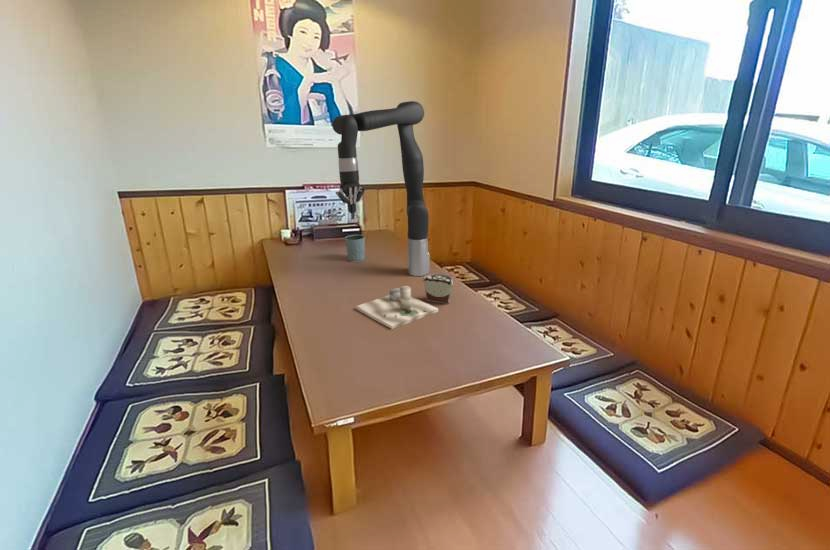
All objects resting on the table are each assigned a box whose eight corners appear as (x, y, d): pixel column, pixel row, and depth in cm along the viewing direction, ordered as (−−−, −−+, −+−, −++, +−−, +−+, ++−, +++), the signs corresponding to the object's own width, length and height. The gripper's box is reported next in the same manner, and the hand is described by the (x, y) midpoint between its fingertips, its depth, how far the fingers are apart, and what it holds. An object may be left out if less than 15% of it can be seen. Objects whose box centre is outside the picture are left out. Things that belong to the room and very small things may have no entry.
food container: (457, 298, 178) (457, 275, 174) (451, 304, 172) (452, 280, 169) (429, 294, 183) (429, 271, 179) (423, 299, 177) (422, 276, 174)
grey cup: (369, 258, 230) (368, 236, 226) (357, 263, 222) (356, 240, 218) (354, 255, 236) (353, 233, 231) (342, 260, 228) (340, 238, 224)
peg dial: (388, 296, 177) (387, 276, 175) (402, 294, 179) (401, 275, 176) (402, 314, 161) (401, 293, 158) (417, 311, 163) (417, 291, 160)
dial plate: (400, 294, 183) (400, 291, 183) (438, 311, 167) (438, 308, 166) (355, 309, 170) (355, 305, 169) (392, 329, 153) (391, 325, 153)
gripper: (357, 167, 179) (360, 209, 185) (329, 170, 171) (333, 214, 177) (368, 168, 174) (371, 211, 180) (339, 171, 166) (343, 217, 172)
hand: (352, 213), depth 178 cm, fingers closed
